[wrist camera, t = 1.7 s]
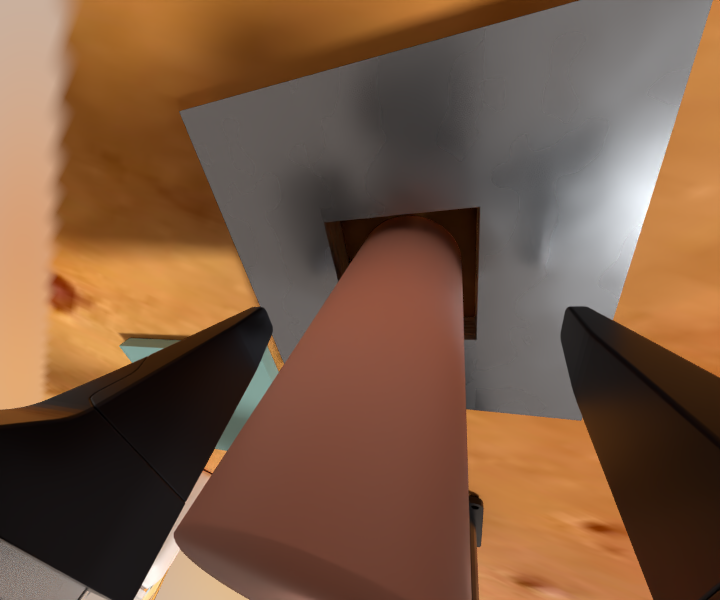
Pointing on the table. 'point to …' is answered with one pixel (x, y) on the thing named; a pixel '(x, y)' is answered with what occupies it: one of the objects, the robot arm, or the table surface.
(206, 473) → the eye dropper bottle
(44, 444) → the robot arm
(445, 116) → the grey square hole plate
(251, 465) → the pink rounded cylinder
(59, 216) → the table surface
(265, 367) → the rubber mat
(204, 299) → the table surface
